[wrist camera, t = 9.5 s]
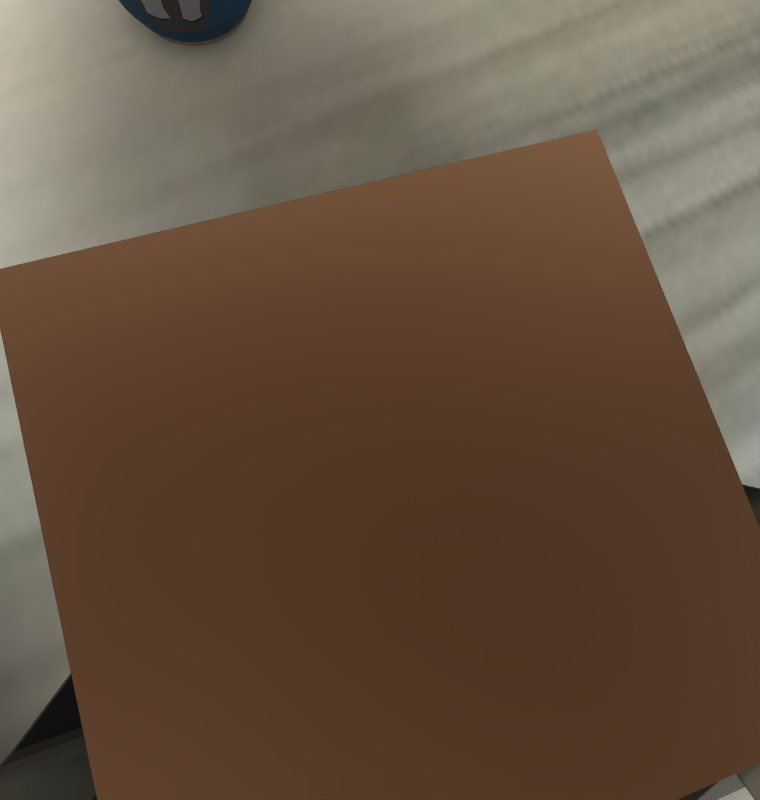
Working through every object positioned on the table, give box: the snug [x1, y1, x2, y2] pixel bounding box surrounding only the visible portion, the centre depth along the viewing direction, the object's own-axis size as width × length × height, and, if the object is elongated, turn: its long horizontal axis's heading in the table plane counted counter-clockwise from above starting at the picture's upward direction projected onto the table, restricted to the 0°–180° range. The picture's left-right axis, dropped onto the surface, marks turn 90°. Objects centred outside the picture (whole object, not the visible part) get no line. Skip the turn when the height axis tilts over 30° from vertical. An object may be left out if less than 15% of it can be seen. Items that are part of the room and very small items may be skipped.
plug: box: [0, 130, 760, 800], centre depth 10 cm, size 4×4×14 cm
